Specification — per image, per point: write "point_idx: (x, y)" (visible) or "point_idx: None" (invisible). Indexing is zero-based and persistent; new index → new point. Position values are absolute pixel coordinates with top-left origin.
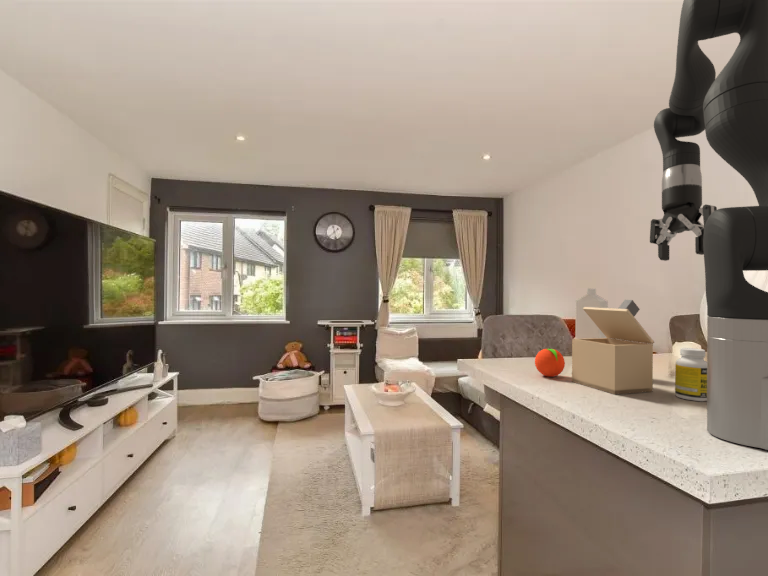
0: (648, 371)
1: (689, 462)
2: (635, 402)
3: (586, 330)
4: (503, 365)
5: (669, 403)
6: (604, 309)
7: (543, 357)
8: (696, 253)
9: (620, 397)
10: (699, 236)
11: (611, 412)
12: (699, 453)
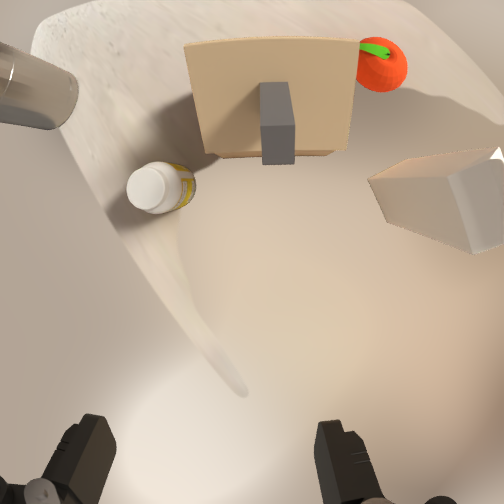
0: None
1: (49, 19)
2: (175, 78)
3: (428, 163)
4: (467, 73)
5: (159, 123)
6: (268, 37)
7: (368, 38)
8: (102, 416)
9: None
10: (57, 488)
11: (149, 22)
12: (53, 35)
